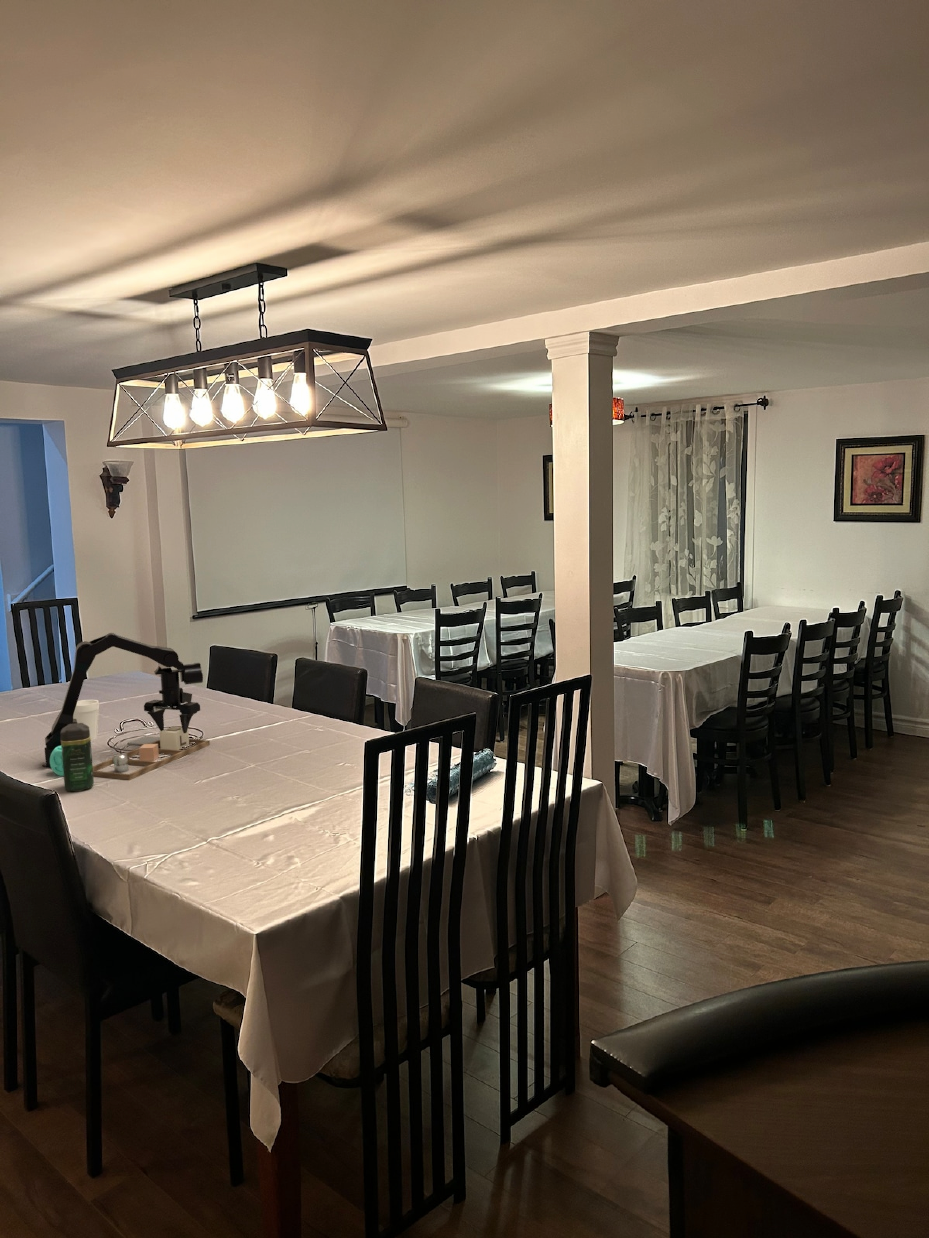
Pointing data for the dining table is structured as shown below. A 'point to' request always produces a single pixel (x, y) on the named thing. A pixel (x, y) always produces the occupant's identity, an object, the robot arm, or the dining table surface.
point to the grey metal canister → (120, 763)
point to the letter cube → (173, 738)
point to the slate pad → (144, 740)
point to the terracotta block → (149, 752)
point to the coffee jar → (77, 757)
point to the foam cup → (88, 715)
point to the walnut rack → (149, 764)
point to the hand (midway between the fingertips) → (173, 732)
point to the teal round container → (57, 761)
